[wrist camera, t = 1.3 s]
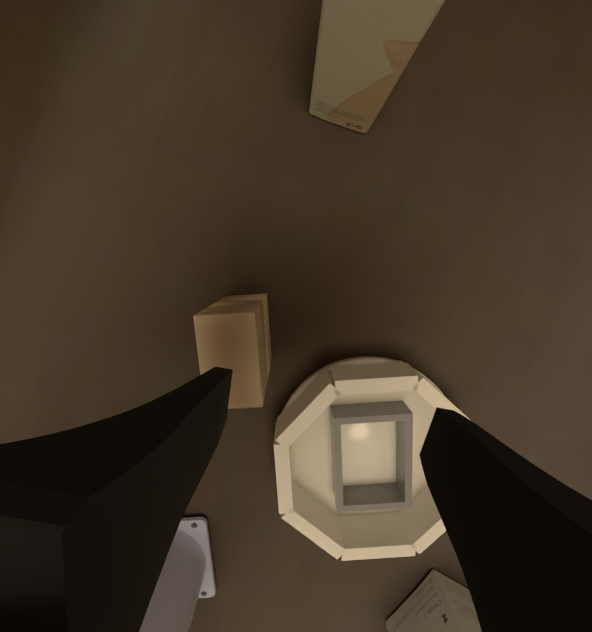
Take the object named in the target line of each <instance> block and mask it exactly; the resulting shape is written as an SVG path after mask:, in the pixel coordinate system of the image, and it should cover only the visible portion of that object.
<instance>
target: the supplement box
mask: <svg viewBox="0 0 592 632" xmlns="http://www.w3.org/2000/svg"><path fill="white" fill-rule="evenodd" d="M386 626H387V631H388V632H482V631H481V627H480V624H479V620H478V617H477V613H476V610H475V607H474V604H473V601H472V598H471V595H470V592H469V589H467V588H465V587H464V586H462V585H460V584H459V583H457V582H455V581H453V580H452V579H450V578H448V577H447V576H445V575H443V574H442V573H440V572H438V571H436V570H434V569H432V570H431V572H430V573H429V574H428V576H427V577H426V578H425V580H424V581H423V582H422V583H421V584H420V585H419V587H418V588H417V589H416V590H415V591H414V592H413V593H412V594H411V595H410V597H409V598H408V599H407V600H406V601H405V602H404V603H403V604H402V605H401V606H400V607H399V608H398V610H397V611H396V612H395V613H394V614H393V615H392V616H390V617H389V618H388V620H387V621H386Z"/></svg>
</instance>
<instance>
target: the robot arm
mask: <svg viewBox="0 0 592 632" xmlns="http://www.w3.org/2000/svg"><path fill="white" fill-rule="evenodd" d="M232 372H233V370H232V369H227V368H221V367H214V368H212V369H210V370H208V371H207V372H205V373H203V374H202V375H200V376H198V377H196V378H195V379H193V380H191V381H190V382H188V383H186V384H184V385H182V386H181V387H179V388H177V389H175V390H173V391H171V392H169V393H167V394H165V395H163V396H161V397H159V398H157V399H155V400H153V401H151V402H149V403H146V404H144V405H142V406H139V407H137V408H134V409H132V410H129V411H126V412H124V413H121V414H119V415H116V416H113V417H110V418H106V419H103V420H100V421H97V422H93V423H90V424H87V425H84V426H81V427H77V428H73V429H69V430H66V431H62V432H58V433H54V434H49V435H45V436H40V437H36V438H31V439H26V440H21V441H16V442H10V443H5V444H0V632H189V629H190V626H191V622H192V618H193V615H194V611H195V607H196V604H197V600H198V598H209V597H213V596H214V595H215V592H216V584H215V577H214V569H213V561H212V554H211V546H210V539H209V531H208V523H207V519H206V518H204V517H188V518H182V517H183V515H184V512H185V510H186V508H187V506H188V504H189V502H190V500H191V498H192V496H193V494H194V492H195V490H196V488H197V486H198V484H199V482H200V480H201V478H202V476H203V474H204V471H205V469H206V467H207V465H208V463H209V461H210V459H211V457H212V455H213V453H214V451H215V449H216V447H217V445H218V442H219V439H220V437H221V434H222V431H223V428H224V425H225V422H226V419H227V411H228V403H229V396H230V388H231V380H232ZM419 456H420V460H421V464H422V468H423V472H424V475H425V479H426V482H427V485H428V488H429V490H430V493H431V495H432V497H433V500H434V502H435V505H436V507H437V510H438V512H439V514H440V517H441V519H442V521H443V524H444V526H445V528H446V531H447V533H448V536H449V538H450V540H451V543H452V545H453V547H454V550H455V552H456V554H457V557H458V560H459V562H460V565H461V568H462V570H463V573H464V576H465V579H466V582H467V585H468V588H469V592H470V595H471V598H472V601H473V604H474V607H475V610H476V613H477V617H478V620H479V624H480V627H481V631H482V632H592V500H590V499H588V498H587V497H585V496H583V495H582V494H580V493H578V492H576V491H575V490H573V489H571V488H570V487H568V486H566V485H565V484H563V483H562V482H560V481H558V480H557V479H555V478H554V477H552V476H550V475H549V474H547V473H546V472H544V471H543V470H541V469H540V468H538V467H537V466H535V465H534V464H532V463H531V462H529V461H528V460H526V459H525V458H523V457H522V456H520V455H519V454H517V453H516V452H515V451H513V450H512V449H510V448H509V447H507V446H506V445H505V444H503V443H502V442H500V441H499V440H498V439H496V438H495V437H493V436H492V435H491V434H489V433H488V432H486V431H485V430H484V429H482V428H481V427H479V426H478V425H476V424H475V423H473V422H472V421H471V420H469V419H468V418H466V417H464V416H463V415H461V414H460V413H458V412H456V411H454V410H449V409H443V408H438V407H437V408H436V411H435V413H434V416H433V419H432V421H431V424H430V427H429V430H428V432H427V435H426V438H425V441H424V443H423V446H422V449H421V452H420V454H419ZM194 523H196V524H194Z"/></svg>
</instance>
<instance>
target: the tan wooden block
mask: <svg viewBox="0 0 592 632" xmlns="http://www.w3.org/2000/svg"><path fill="white" fill-rule="evenodd" d="M193 319H194V327H195V335H196V343H197V351H198V359H199V367H200V375H202V374H203V373H205V372H207V371H208V370H210V369H212V368H214V367H221V368H227V369H232V370H233V372H232V380H231V388H230V396H229V403H228V409H236V408H252V407H263V402H264V397H265V392H266V386H267V381H268V376H269V371H270V365H271V360H272V352H271V339H270V326H269V312H268V299H267V293H264V294H247V295H231V296H225V297H224V298H222V299H220V300H219V301H217V302H215V303H214V304H212V305H210V306H209V307H207V308H205V309H204V310H202V311H200V312H199V313H197V314H195V315H194V316H193Z"/></svg>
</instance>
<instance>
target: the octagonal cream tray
mask: <svg viewBox="0 0 592 632" xmlns="http://www.w3.org/2000/svg"><path fill="white" fill-rule="evenodd" d="M437 407H438V408H443V409H449V410H454V411H456V412H458V413H460V414H461V415H463V416H464V417H466V418H468V417H467V416H466V415H464V414H463V413H462V412H461V411H460V410H459V409H458V408H457V407H456V406H455V405H453V404H452V403H451V402H450V401H449V400H448V399H447V398H446V397H445V396H444V394H443V393H442V391H441V390H440V389H439V388H438V387H437V386H436V385H435V384H434V383H433V382H432V381H431V380H430V379H428V378H427V377H426V376H425V375H423V374H422V373H421V372H420V371H418V370H417V369H415V368H413V367H411V366H410V365H409V364H408V363H407V362H406V363H404V362H403V361H398V360H394V359H390V358H386V357H378V356H359V357H350V358H347V359H343V360H339V361H336V362H333V363H331V364H328V365H326V366H324V367H323V368H321V369H319V370H317V371H316V372H314V373H313V374H311V375H310V376H309V377H307V378H306V379H305V380H304V381H303V382H302V383H301V384H300V385H299V386H298V387H297V388H296V389H295V390H294V392H293V393H292V394H291V395H290V397H289V399H288V400H287V402H286V404H285V406H284V408H283V410H282V412H281V414H280V415H279V416H278V417H277V422H276V424H275V435H274V456H275V469H276V481H277V494H278V506H279V514H282V516H281V518H282V519H283V520H285V521H286V522H288V523H289V524H290V525H292V526H293V527H294V528H296V529H297V530H298V531H300V532H301V533H302V534H304V535H305V536H306V537H308V538H309V539H310V540H312V541H313V542H314V543H316V544H317V545H318V546H320V547H321V548H322V549H324V550H325V551H326V552H328V553H329V554H330V555H332V556H333V557H335V558H336V559H338V558H339V557H340V556H341V559H342V561H345V560H360V559H376V558H391V557H407V556H415V551H417V552H418V553H419V554H420V553H422V552H423V551H424V550H425V549H426V548H427V547H428V546H429V545H431V544H432V543H433V542H434V541H435V540H436V539H437V538H438V537H440V536H441V535H442V534H443V533H444V532H445V531H446V528H445V526H444V524H443V521H442V519H441V517H440V514H439V512H438V510H437V507H436V505H435V502H434V500H433V497H432V495H431V493H430V490H429V488H428V485H427V482H426V479H425V475H424V472H423V468H422V464H421V460H420V456H419V454H420V452H421V449H422V446H423V443H424V441H425V438H426V435H427V432H428V430H429V427H430V424H431V421H432V419H433V416H434V413H435V411H436V408H437ZM468 419H469V418H468ZM469 420H470V419H469Z"/></svg>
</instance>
